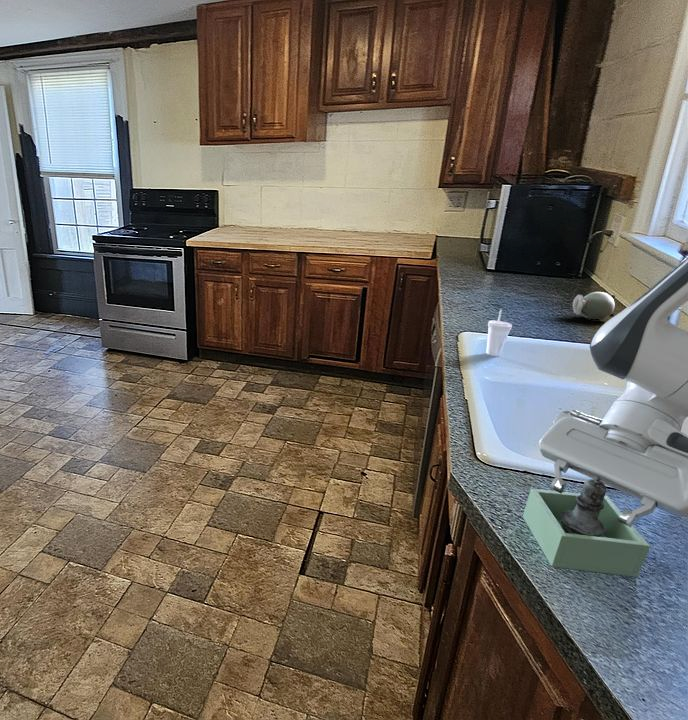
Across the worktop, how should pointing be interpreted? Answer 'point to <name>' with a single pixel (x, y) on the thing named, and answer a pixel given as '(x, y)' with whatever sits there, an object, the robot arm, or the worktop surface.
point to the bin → (584, 536)
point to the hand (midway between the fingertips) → (588, 506)
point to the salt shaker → (586, 511)
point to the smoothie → (497, 335)
